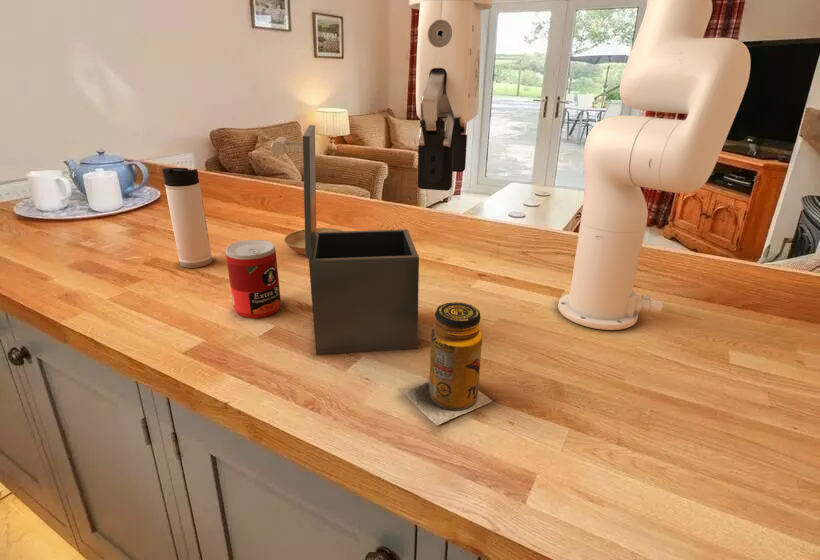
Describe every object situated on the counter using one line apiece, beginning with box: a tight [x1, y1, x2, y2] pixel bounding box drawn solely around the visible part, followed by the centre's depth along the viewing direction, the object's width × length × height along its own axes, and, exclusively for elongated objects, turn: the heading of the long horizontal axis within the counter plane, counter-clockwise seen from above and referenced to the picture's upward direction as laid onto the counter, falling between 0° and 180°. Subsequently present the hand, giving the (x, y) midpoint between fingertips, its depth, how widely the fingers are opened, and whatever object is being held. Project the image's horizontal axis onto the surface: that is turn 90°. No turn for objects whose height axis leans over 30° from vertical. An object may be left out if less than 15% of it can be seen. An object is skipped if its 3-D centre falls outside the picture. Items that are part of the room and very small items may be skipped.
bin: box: [308, 229, 420, 355], centre depth 74 cm, size 15×13×14 cm
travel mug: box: [161, 167, 213, 269], centre depth 98 cm, size 6×7×20 cm
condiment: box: [402, 301, 493, 426], centre depth 59 cm, size 7×8×12 cm
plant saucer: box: [283, 227, 344, 256], centre depth 111 cm, size 15×15×3 cm
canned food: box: [225, 239, 282, 319], centre depth 81 cm, size 8×8×11 cm
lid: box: [270, 124, 317, 258], centre depth 67 cm, size 15×13×5 cm
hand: (443, 179), depth 51 cm, fingers open, 9 cm apart
